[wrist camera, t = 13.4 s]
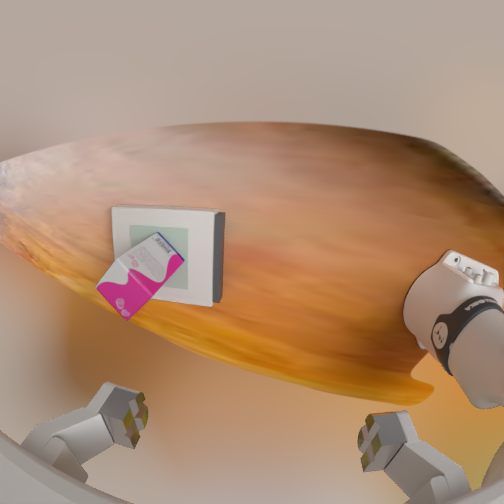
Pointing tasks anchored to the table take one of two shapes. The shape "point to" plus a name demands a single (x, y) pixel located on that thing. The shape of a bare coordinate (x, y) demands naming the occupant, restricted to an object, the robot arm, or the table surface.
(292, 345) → the table surface
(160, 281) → the supplement box
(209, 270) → the dock
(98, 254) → the table surface
